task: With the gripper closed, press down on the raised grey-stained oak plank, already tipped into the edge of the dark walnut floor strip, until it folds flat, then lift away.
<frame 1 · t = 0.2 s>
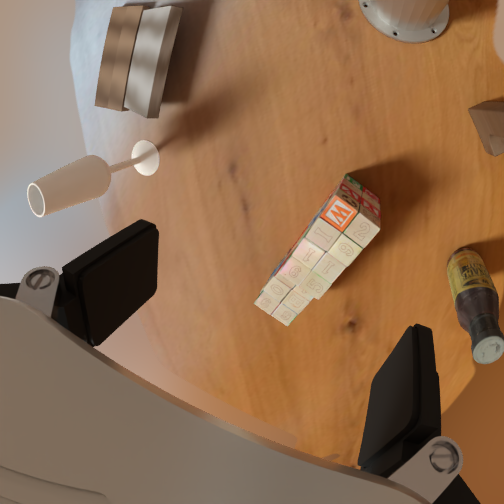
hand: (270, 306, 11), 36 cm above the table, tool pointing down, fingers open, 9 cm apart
stack of blocks: (322, 238, 48), on the table
walnut floor strip: (123, 56, 46), on the table
champagne flute: (145, 157, 54), on the table
grey plank: (149, 59, 41), point 3 cm above the table, hinge at 25.0°
sauce bottle: (461, 262, 41), on the table
wooden block: (485, 126, 31), on the table
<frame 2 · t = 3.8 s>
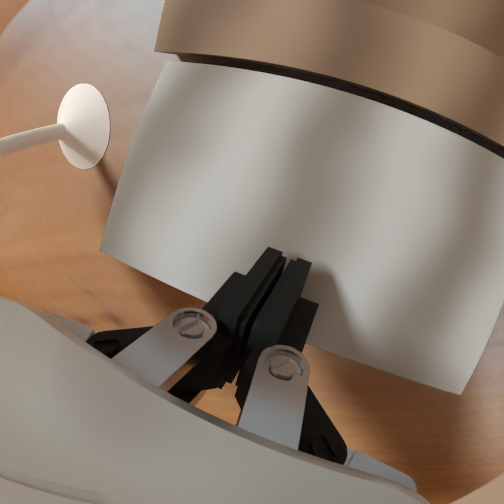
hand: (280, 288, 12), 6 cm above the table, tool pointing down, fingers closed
walnut floor strip: (372, 17, 11), on the table
champagne flute: (82, 126, 20), on the table
grey plank: (316, 210, 13), point 3 cm above the table, hinge at 24.3°, touching gripper
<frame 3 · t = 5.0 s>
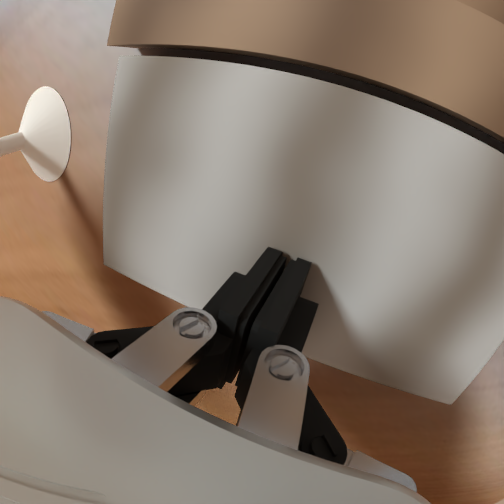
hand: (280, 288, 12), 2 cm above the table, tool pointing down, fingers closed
champagne flute: (45, 134, 17), on the table
grey plank: (310, 226, 11), point 1 cm above the table, hinge at 2.6°, touching gripper
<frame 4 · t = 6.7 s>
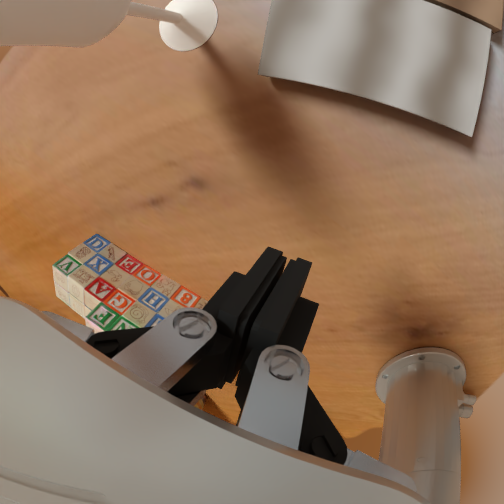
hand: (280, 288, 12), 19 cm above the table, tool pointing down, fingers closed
stack of blocks: (151, 283, 43), on the table
champagne flute: (187, 21, 24), on the table
grey plank: (379, 43, 19), point 1 cm above the table, hinge at 2.6°
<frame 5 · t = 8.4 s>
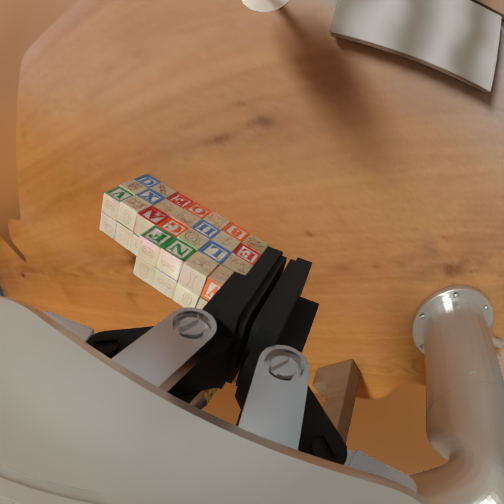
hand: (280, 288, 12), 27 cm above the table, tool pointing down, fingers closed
stack of blocks: (198, 223, 46), on the table
grey plank: (420, 20, 22), point 1 cm above the table, hinge at 2.6°
wooden block: (338, 369, 48), on the table
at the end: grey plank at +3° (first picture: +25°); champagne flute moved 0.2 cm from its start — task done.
